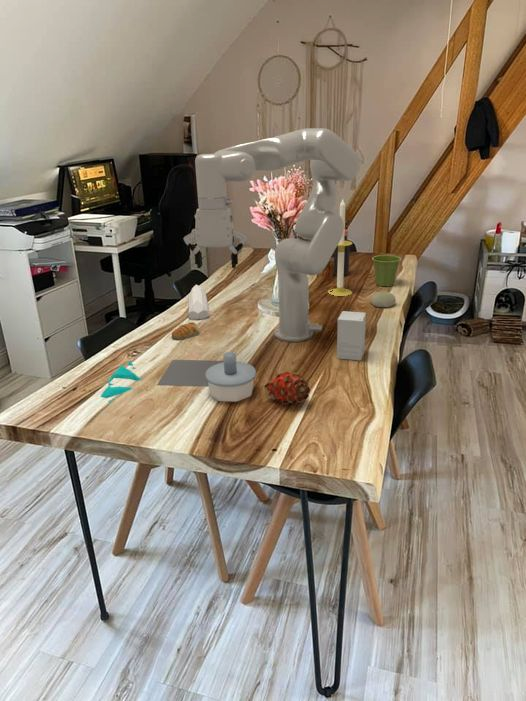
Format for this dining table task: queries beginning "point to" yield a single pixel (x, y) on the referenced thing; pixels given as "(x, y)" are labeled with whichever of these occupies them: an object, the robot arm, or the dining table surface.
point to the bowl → (231, 392)
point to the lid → (230, 372)
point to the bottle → (346, 257)
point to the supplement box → (351, 335)
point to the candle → (341, 260)
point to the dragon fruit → (288, 388)
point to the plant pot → (385, 269)
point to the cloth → (123, 374)
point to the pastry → (185, 331)
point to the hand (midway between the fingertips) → (217, 267)
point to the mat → (187, 373)
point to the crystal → (197, 304)
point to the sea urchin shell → (383, 299)
